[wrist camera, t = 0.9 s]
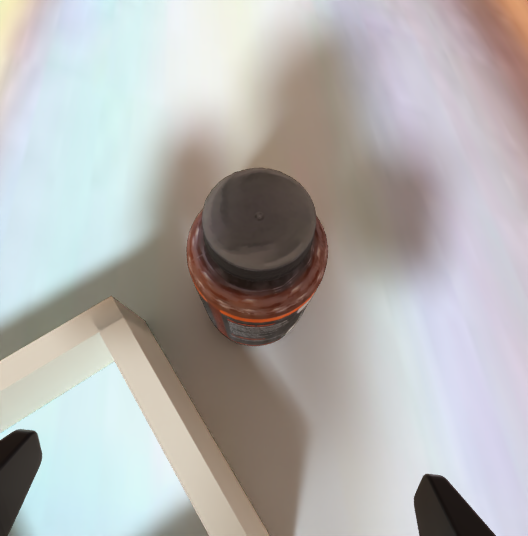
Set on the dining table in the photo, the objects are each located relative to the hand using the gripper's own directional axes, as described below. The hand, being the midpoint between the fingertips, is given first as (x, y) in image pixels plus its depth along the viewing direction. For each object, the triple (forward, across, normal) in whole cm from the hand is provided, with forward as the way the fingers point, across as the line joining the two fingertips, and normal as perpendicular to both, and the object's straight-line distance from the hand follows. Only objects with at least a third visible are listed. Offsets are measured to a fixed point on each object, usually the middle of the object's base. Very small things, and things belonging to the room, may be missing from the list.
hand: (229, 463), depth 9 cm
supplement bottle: (+14, 0, +4) cm, 15 cm away
